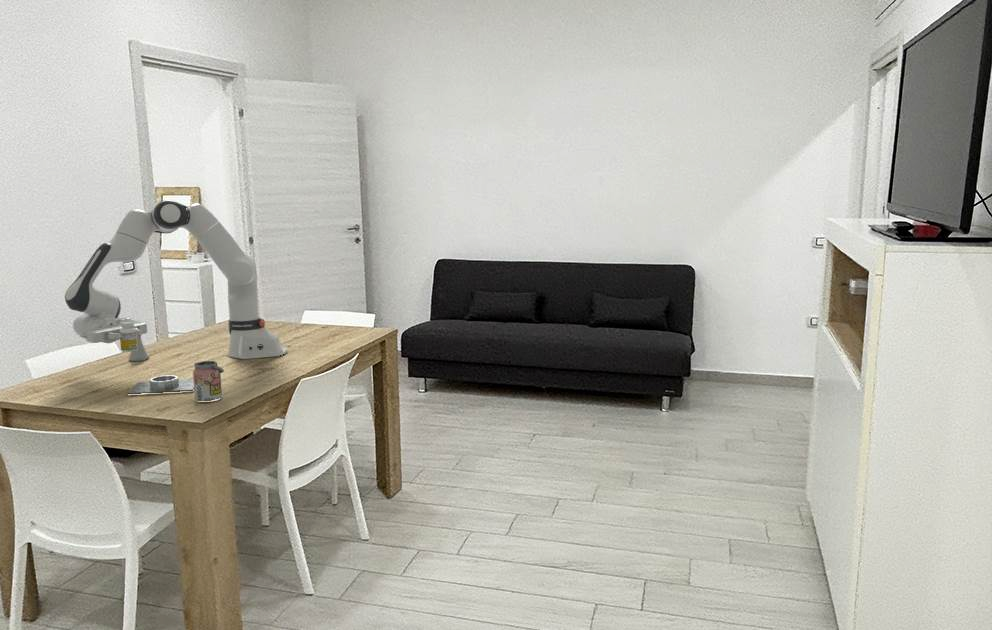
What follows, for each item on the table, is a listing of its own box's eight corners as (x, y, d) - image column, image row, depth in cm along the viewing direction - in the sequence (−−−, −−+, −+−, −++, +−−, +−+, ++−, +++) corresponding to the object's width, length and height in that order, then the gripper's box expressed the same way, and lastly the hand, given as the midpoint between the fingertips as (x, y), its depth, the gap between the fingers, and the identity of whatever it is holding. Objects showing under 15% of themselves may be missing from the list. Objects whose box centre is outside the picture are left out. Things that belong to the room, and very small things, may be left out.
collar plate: (199, 381, 273) (199, 371, 272) (192, 392, 259) (191, 382, 259) (138, 384, 269) (137, 374, 269) (127, 396, 256) (126, 385, 255)
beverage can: (210, 394, 257) (207, 358, 255) (230, 397, 254) (228, 360, 251) (189, 402, 248) (186, 365, 246) (210, 405, 245) (207, 367, 243)
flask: (141, 362, 302) (139, 336, 300) (124, 361, 303) (122, 335, 302) (153, 357, 309) (151, 332, 307) (136, 357, 310) (134, 332, 309)
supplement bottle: (124, 348, 274) (122, 321, 272) (140, 348, 274) (138, 320, 273) (118, 352, 269) (116, 324, 267) (135, 351, 269) (132, 323, 267)
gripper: (76, 326, 268) (99, 330, 261) (132, 316, 285) (155, 320, 278) (78, 344, 269) (101, 349, 262) (134, 334, 286) (157, 338, 279)
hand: (130, 334), depth 270 cm, fingers closed on supplement bottle, 5 cm apart
